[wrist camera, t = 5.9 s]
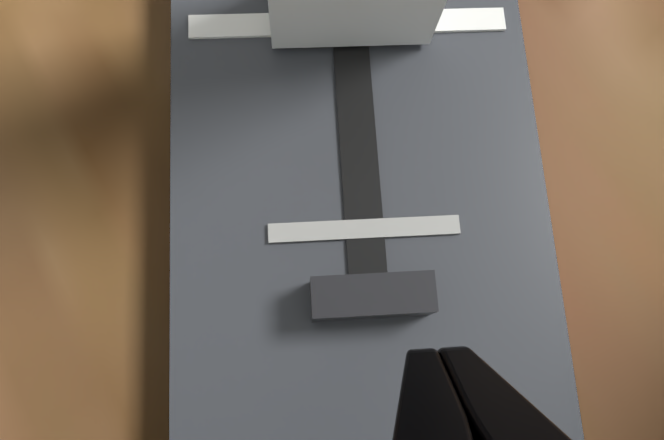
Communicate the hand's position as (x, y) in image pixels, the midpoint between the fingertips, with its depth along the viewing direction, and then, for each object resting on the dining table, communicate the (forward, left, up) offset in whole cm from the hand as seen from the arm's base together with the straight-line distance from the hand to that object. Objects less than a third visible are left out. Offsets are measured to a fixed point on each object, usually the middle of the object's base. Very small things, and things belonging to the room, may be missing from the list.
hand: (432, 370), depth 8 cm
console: (+4, -1, -8) cm, 9 cm away
